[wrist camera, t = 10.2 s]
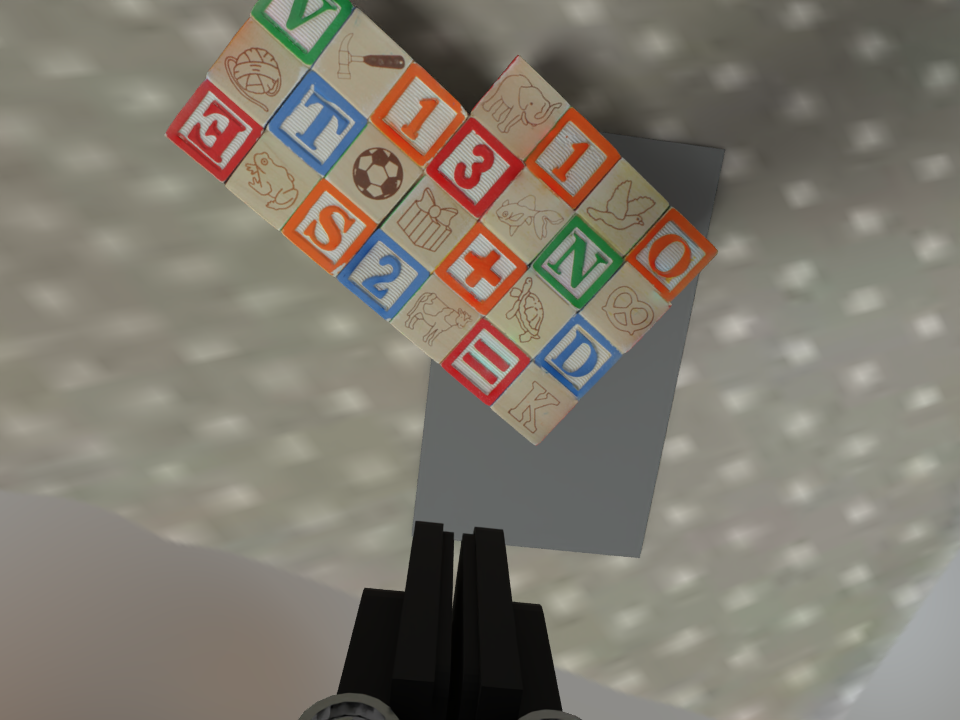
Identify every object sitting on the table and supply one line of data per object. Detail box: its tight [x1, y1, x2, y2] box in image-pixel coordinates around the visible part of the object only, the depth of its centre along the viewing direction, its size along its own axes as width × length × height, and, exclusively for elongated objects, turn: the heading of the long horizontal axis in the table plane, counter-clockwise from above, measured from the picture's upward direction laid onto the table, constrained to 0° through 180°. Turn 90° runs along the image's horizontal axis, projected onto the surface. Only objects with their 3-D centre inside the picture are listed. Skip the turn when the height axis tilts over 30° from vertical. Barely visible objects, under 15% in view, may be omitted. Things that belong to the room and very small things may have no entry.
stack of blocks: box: [165, 0, 718, 446], centre depth 29 cm, size 21×6×12 cm
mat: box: [412, 113, 725, 558], centre depth 35 cm, size 14×24×1 cm, turn 173°
